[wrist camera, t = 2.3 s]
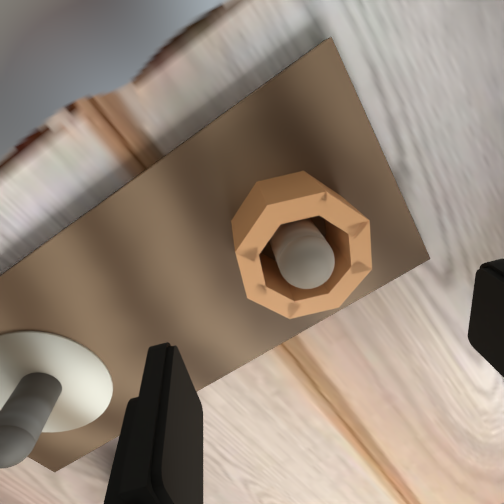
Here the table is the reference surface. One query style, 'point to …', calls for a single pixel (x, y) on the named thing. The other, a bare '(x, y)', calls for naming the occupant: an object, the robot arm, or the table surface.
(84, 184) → the table surface
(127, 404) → the robot arm
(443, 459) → the table surface
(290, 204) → the collar
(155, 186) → the board
